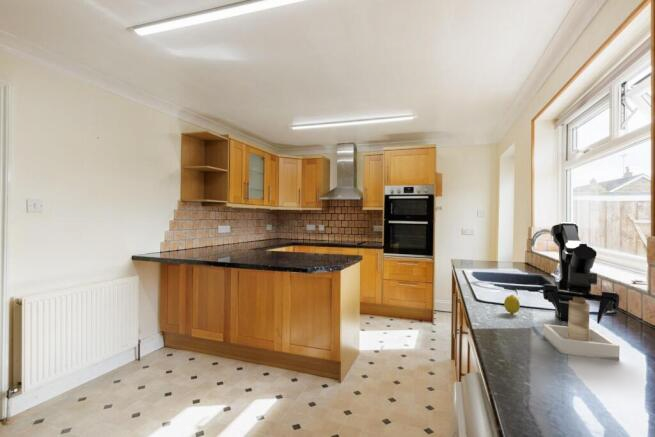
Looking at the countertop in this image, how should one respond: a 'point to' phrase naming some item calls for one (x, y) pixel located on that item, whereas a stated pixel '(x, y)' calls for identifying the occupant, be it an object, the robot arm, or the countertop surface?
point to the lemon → (511, 304)
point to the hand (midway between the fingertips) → (578, 319)
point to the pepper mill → (578, 319)
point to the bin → (581, 343)
